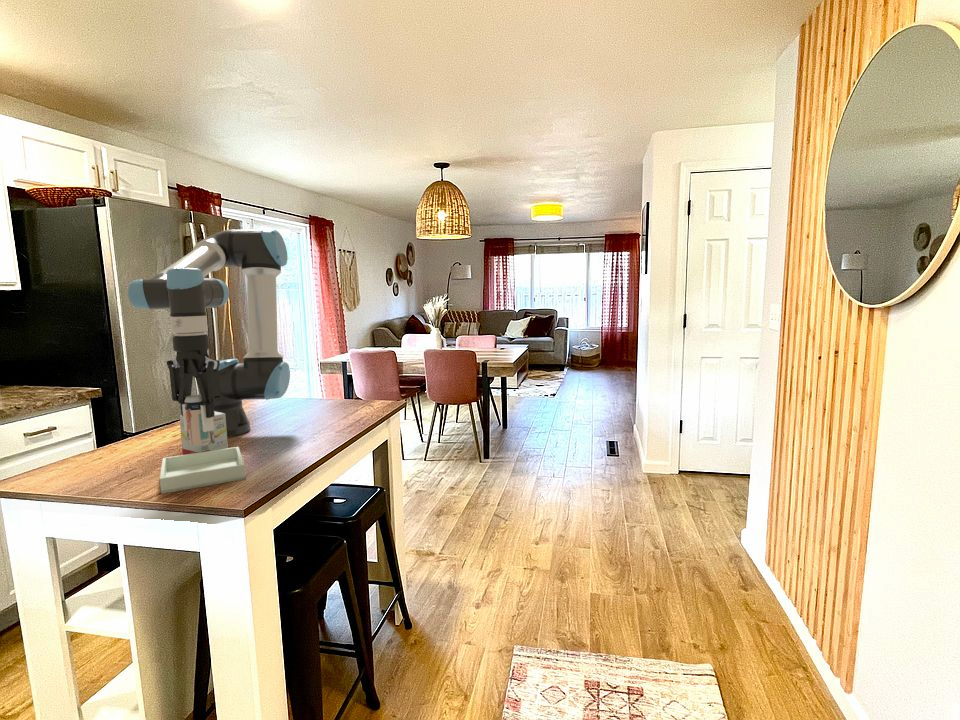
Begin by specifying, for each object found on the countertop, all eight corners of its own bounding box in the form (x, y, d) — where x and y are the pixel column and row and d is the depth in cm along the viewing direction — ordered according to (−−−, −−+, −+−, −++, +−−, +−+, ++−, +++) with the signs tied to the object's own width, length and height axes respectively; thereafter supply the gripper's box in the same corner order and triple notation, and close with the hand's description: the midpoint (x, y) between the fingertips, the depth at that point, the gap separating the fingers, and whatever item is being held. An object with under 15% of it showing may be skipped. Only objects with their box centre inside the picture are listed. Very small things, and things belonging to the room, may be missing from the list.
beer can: (193, 442, 129) (189, 394, 128) (213, 441, 130) (209, 394, 129) (185, 448, 125) (180, 398, 123) (206, 447, 125) (202, 397, 124)
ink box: (199, 462, 139) (195, 418, 137) (182, 457, 144) (177, 415, 142) (229, 453, 146) (226, 411, 145) (212, 448, 151) (208, 408, 149)
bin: (164, 471, 132) (162, 457, 132) (239, 459, 141) (238, 446, 140) (161, 493, 117) (159, 478, 117) (245, 478, 125) (244, 464, 125)
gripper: (146, 335, 123) (157, 432, 126) (208, 335, 118) (217, 436, 121) (173, 332, 130) (182, 424, 133) (232, 332, 125) (240, 427, 128)
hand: (199, 429), depth 127 cm, fingers closed on beer can, 5 cm apart
